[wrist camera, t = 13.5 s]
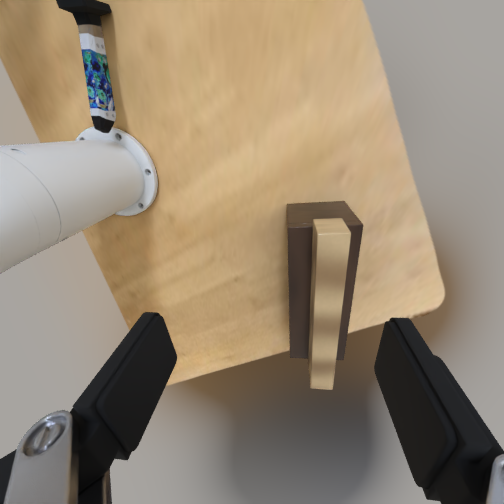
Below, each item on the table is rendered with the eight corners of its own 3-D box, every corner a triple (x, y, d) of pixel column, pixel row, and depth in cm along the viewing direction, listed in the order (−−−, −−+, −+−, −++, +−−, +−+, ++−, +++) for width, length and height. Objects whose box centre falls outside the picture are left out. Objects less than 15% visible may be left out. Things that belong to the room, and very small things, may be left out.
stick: (327, 364, 36) (332, 390, 32) (308, 363, 36) (310, 388, 33) (341, 217, 24) (351, 232, 21) (313, 218, 25) (317, 233, 21)
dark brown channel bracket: (289, 316, 44) (290, 357, 36) (287, 203, 34) (287, 227, 26) (332, 317, 43) (343, 360, 35) (344, 200, 32) (363, 224, 25)
